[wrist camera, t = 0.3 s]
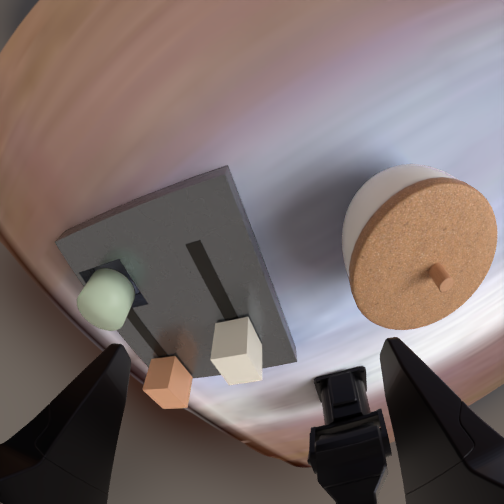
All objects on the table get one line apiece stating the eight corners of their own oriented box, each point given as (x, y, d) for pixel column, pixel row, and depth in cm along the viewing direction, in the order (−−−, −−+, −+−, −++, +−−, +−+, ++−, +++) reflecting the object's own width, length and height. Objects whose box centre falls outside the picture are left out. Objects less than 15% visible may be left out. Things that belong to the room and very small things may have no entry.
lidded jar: (457, 159, 19) (533, 210, 11) (423, 268, 25) (468, 341, 17) (337, 135, 19) (391, 181, 11) (316, 264, 25) (338, 353, 17)
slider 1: (192, 377, 30) (187, 407, 27) (169, 379, 31) (163, 408, 28) (175, 356, 28) (167, 388, 25) (151, 358, 29) (142, 389, 26)
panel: (295, 346, 30) (297, 362, 29) (164, 368, 33) (161, 381, 32) (227, 165, 20) (224, 174, 19) (65, 230, 23) (54, 242, 21)
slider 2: (262, 345, 27) (262, 380, 24) (231, 350, 28) (229, 385, 24) (248, 316, 25) (246, 353, 22) (215, 323, 26) (210, 359, 22)
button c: (144, 302, 25) (134, 327, 22) (108, 310, 26) (96, 333, 23) (118, 262, 22) (104, 285, 20) (82, 274, 23) (67, 296, 21)
